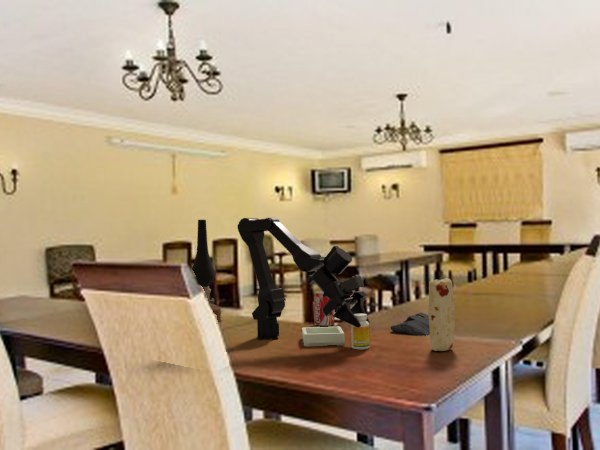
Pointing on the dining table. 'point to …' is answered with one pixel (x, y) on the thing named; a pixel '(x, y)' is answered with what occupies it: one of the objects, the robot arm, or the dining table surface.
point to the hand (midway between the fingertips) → (364, 325)
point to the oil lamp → (204, 265)
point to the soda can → (318, 314)
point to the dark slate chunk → (414, 325)
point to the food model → (441, 314)
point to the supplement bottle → (360, 333)
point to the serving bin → (323, 336)
